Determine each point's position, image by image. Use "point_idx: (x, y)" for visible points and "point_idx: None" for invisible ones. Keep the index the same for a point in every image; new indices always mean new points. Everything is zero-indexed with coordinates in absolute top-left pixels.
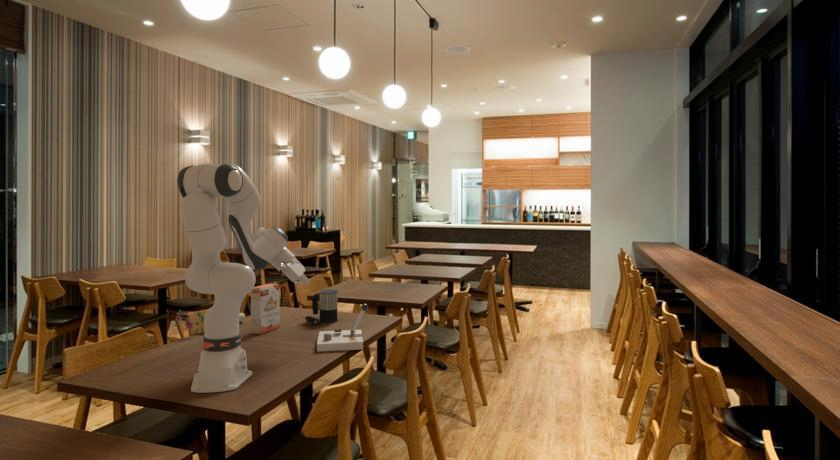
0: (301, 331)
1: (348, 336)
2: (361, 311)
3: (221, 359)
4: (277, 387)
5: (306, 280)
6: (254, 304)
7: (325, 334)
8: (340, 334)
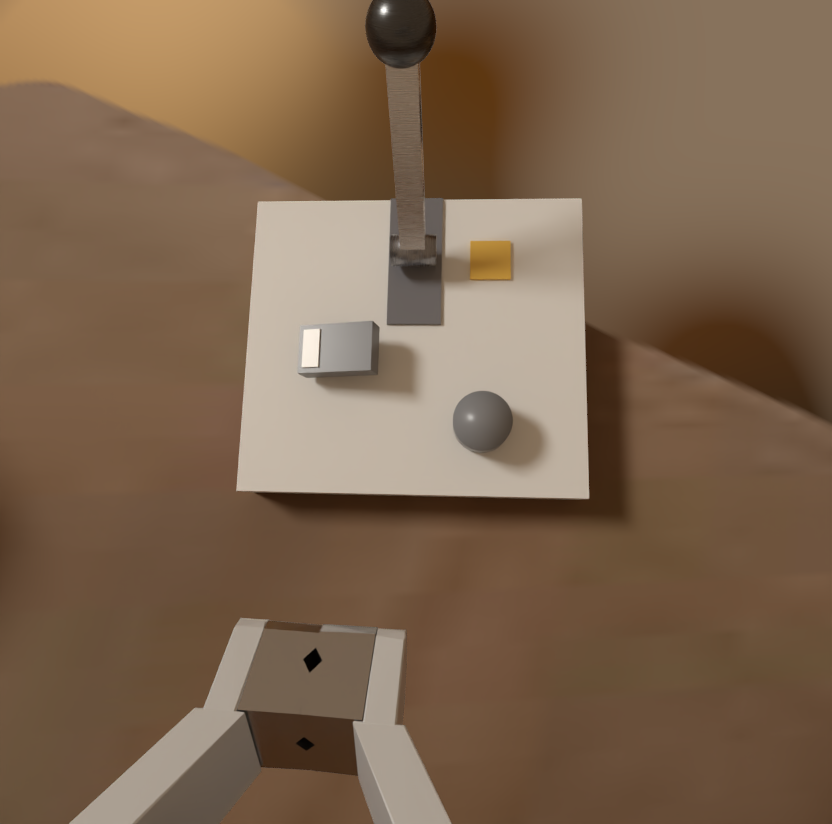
0: (27, 631)
1: (438, 285)
2: (418, 81)
3: None
4: None
5: (399, 729)
6: None
7: (483, 436)
8: None
